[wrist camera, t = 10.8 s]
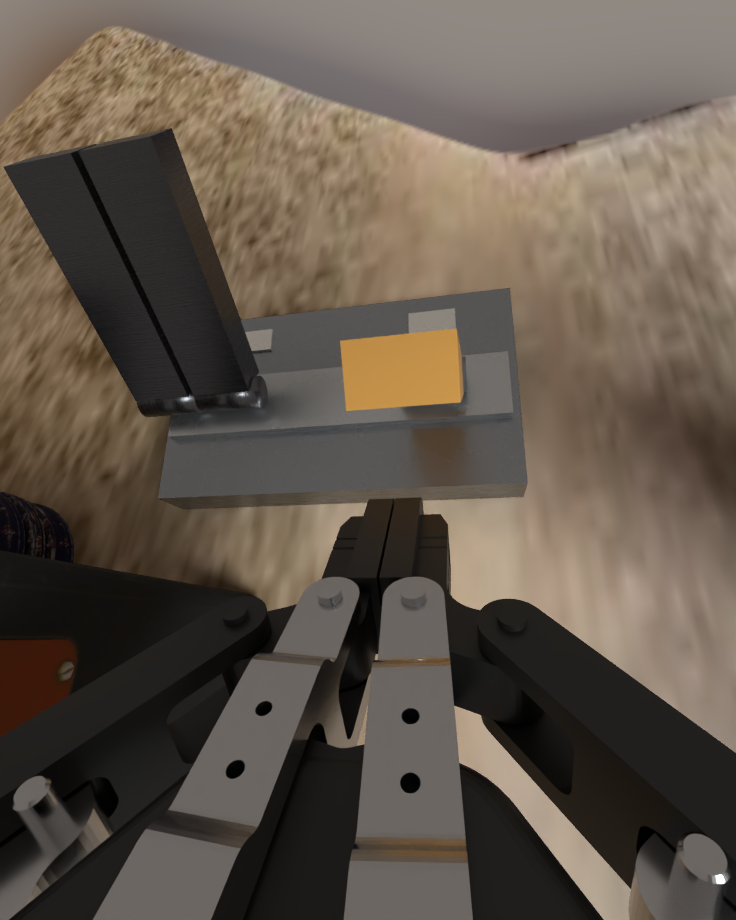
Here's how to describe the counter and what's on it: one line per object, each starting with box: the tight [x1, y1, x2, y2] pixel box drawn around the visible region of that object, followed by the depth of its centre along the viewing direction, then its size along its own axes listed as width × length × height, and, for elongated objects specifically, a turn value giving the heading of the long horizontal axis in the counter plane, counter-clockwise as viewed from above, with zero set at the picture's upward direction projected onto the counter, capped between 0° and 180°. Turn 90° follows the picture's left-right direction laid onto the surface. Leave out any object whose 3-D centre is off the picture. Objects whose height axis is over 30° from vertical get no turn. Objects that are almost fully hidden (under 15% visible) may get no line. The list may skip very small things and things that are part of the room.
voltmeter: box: [0, 550, 255, 737], centre depth 19 cm, size 16×9×25 cm, turn 177°
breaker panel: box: [4, 128, 528, 509], centre depth 27 cm, size 24×14×18 cm, turn 89°
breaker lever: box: [340, 329, 467, 411], centre depth 23 cm, size 4×2×15 cm, turn 89°
